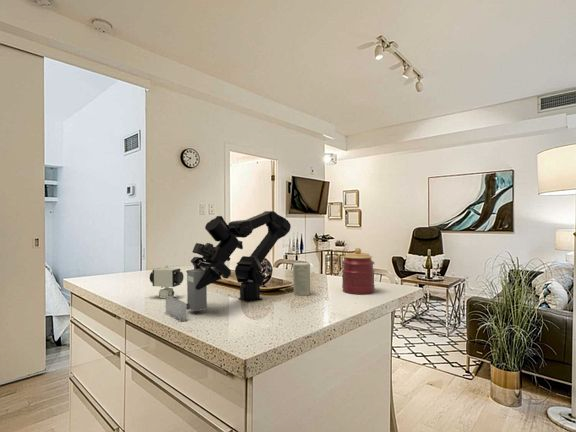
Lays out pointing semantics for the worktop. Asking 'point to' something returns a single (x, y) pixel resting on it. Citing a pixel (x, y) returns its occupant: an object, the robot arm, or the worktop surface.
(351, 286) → the canister
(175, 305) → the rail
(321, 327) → the worktop surface
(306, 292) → the skincare box
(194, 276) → the block
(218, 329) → the worktop surface
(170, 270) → the pneumatic valve
